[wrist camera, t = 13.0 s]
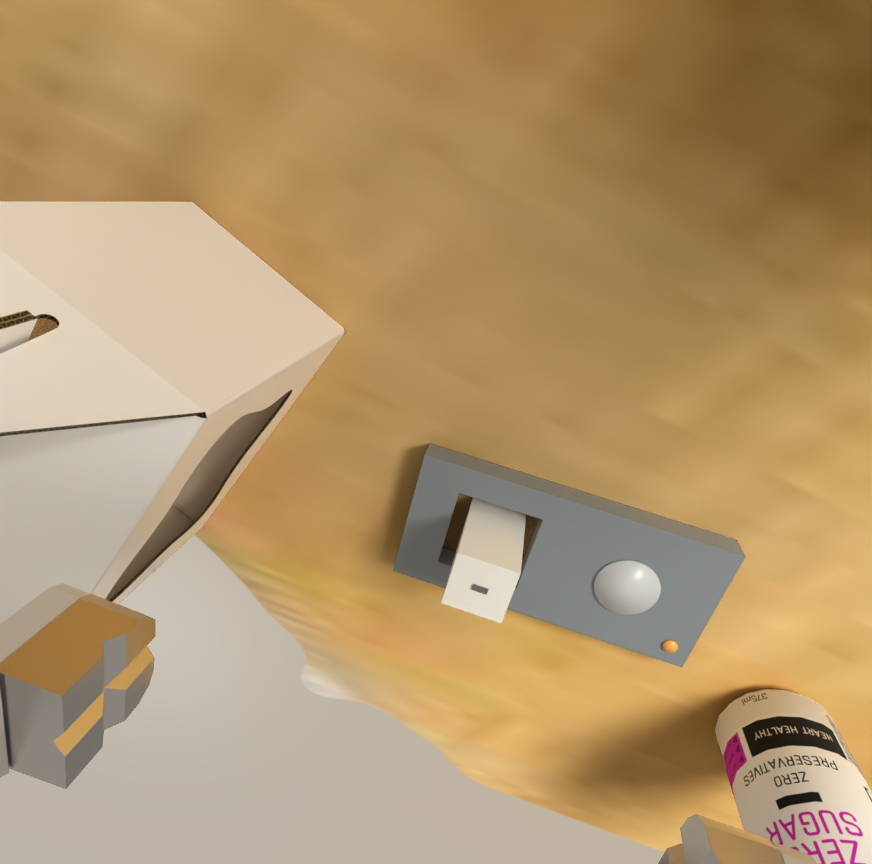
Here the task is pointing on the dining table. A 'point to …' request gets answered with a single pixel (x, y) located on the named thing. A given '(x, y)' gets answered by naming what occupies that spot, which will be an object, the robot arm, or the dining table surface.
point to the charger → (486, 561)
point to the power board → (580, 556)
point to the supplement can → (795, 777)
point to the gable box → (133, 385)
